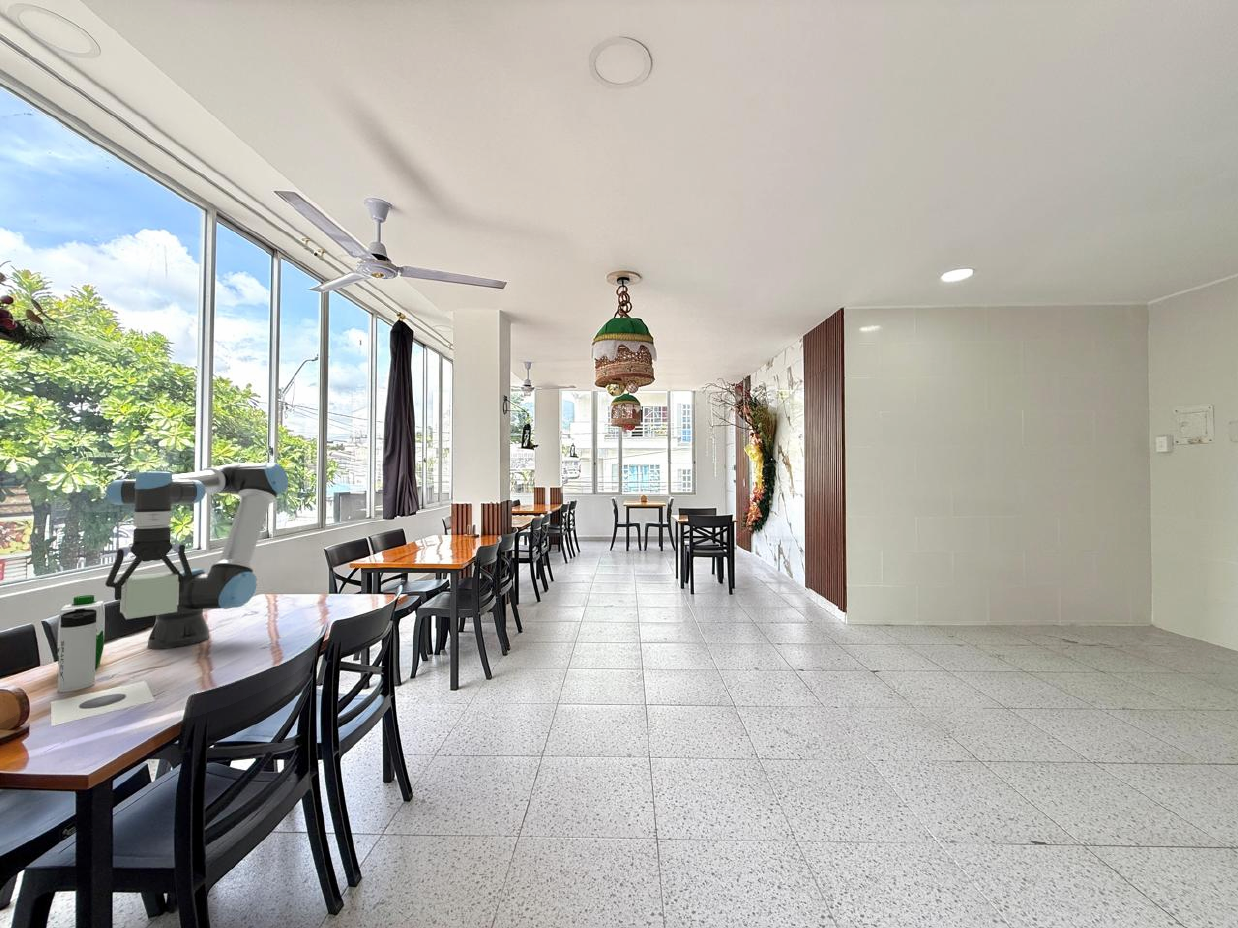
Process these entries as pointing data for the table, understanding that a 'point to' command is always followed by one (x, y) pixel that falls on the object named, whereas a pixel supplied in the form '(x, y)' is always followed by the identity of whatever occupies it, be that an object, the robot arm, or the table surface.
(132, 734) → the table surface
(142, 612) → the mint green block
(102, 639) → the milk carton
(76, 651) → the travel mug
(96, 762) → the table surface
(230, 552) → the robot arm
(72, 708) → the board
